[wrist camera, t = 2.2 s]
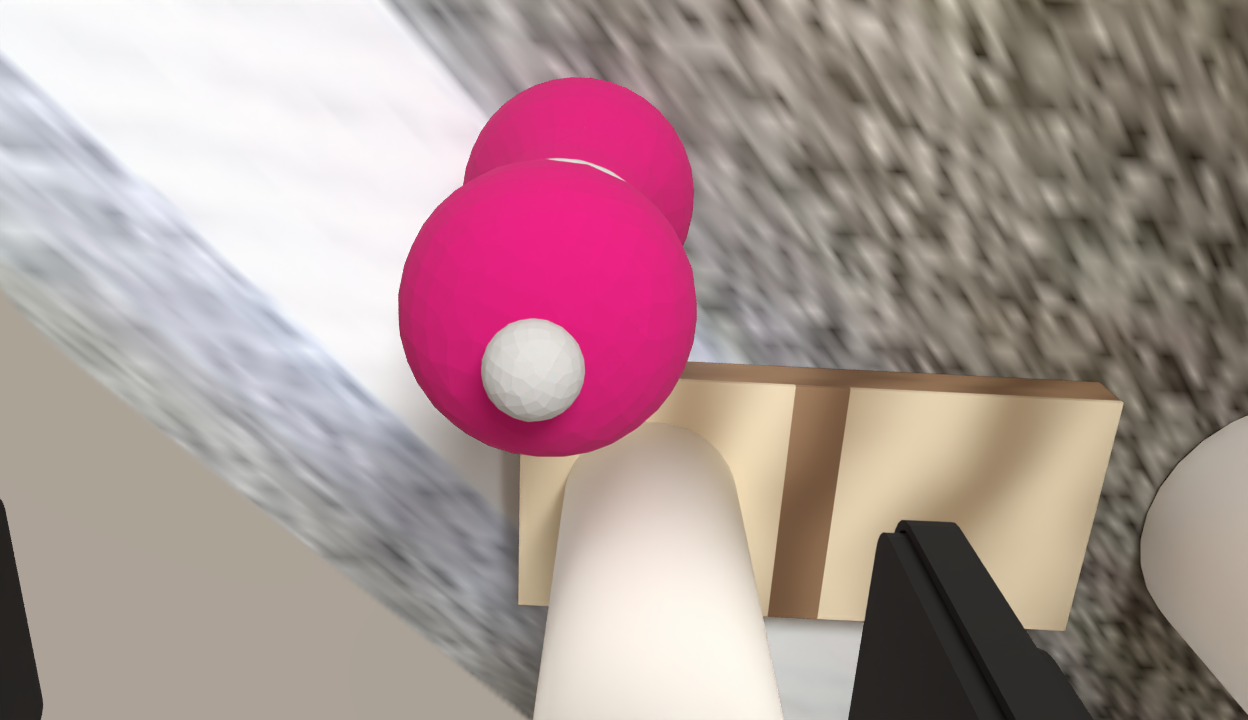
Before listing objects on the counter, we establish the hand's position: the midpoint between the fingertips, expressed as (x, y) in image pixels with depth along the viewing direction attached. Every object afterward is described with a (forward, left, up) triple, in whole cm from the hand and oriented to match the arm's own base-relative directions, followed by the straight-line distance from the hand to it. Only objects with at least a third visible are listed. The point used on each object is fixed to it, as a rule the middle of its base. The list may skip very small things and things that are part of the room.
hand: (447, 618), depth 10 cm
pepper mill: (0, 0, -26) cm, 26 cm away
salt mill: (-3, +12, -24) cm, 27 cm away
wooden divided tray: (-9, +12, -26) cm, 30 cm away
